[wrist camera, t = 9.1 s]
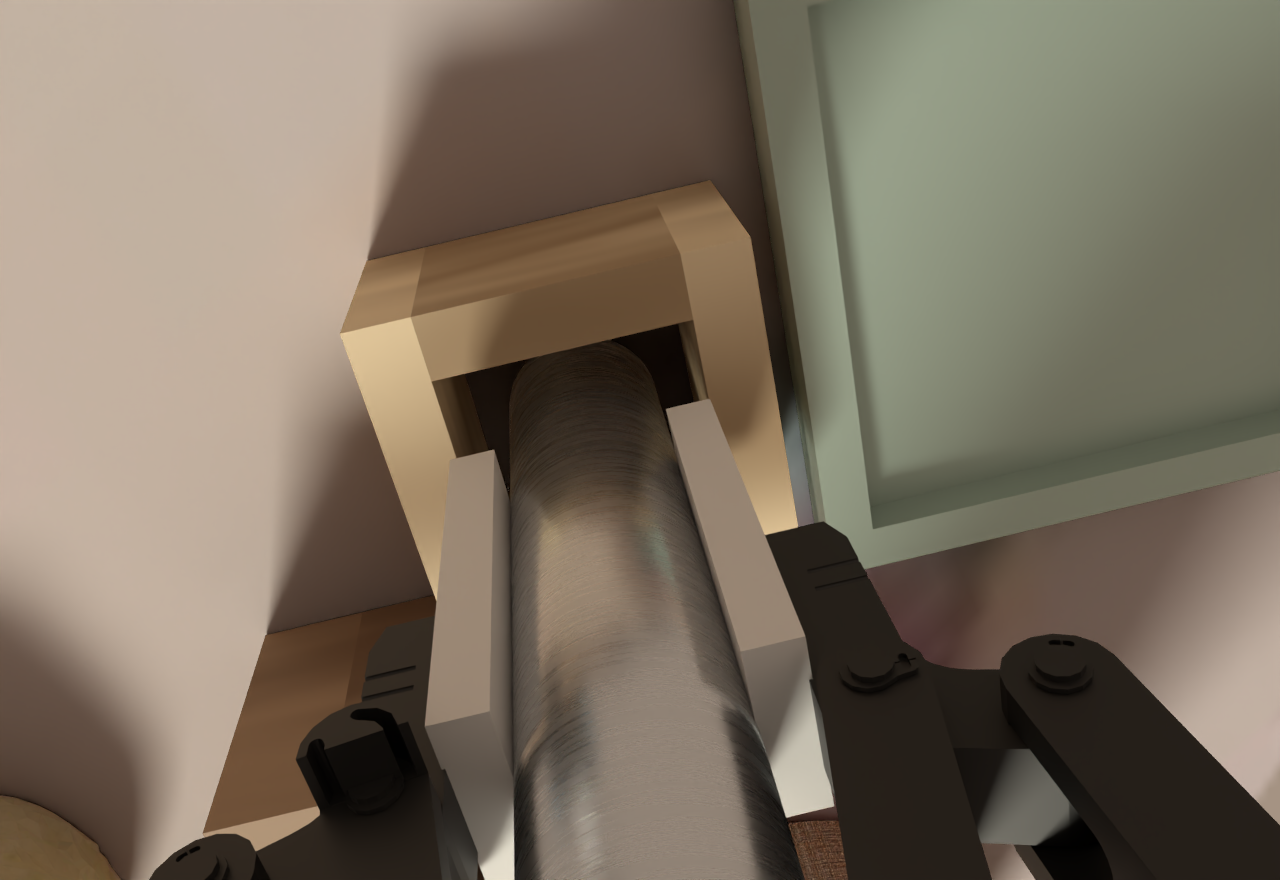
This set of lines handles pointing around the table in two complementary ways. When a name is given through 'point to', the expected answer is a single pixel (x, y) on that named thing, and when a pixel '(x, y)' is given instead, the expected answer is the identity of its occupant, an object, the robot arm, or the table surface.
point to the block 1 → (295, 719)
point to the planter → (819, 849)
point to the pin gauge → (623, 648)
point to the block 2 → (563, 334)
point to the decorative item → (46, 846)
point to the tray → (1020, 254)
